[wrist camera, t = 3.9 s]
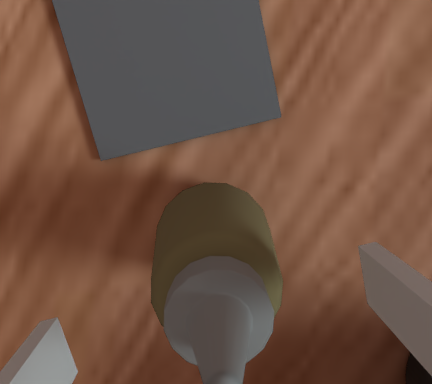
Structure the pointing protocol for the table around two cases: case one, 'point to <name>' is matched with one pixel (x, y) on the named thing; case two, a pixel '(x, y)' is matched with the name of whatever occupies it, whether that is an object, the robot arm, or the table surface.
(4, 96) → the table surface
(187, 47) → the mat
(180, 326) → the squeeze bottle
